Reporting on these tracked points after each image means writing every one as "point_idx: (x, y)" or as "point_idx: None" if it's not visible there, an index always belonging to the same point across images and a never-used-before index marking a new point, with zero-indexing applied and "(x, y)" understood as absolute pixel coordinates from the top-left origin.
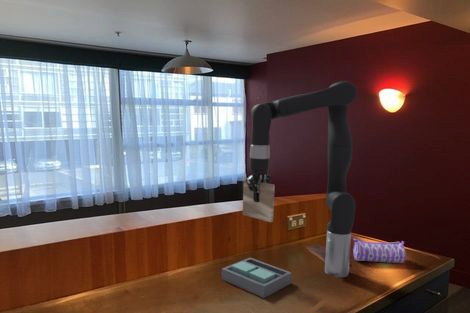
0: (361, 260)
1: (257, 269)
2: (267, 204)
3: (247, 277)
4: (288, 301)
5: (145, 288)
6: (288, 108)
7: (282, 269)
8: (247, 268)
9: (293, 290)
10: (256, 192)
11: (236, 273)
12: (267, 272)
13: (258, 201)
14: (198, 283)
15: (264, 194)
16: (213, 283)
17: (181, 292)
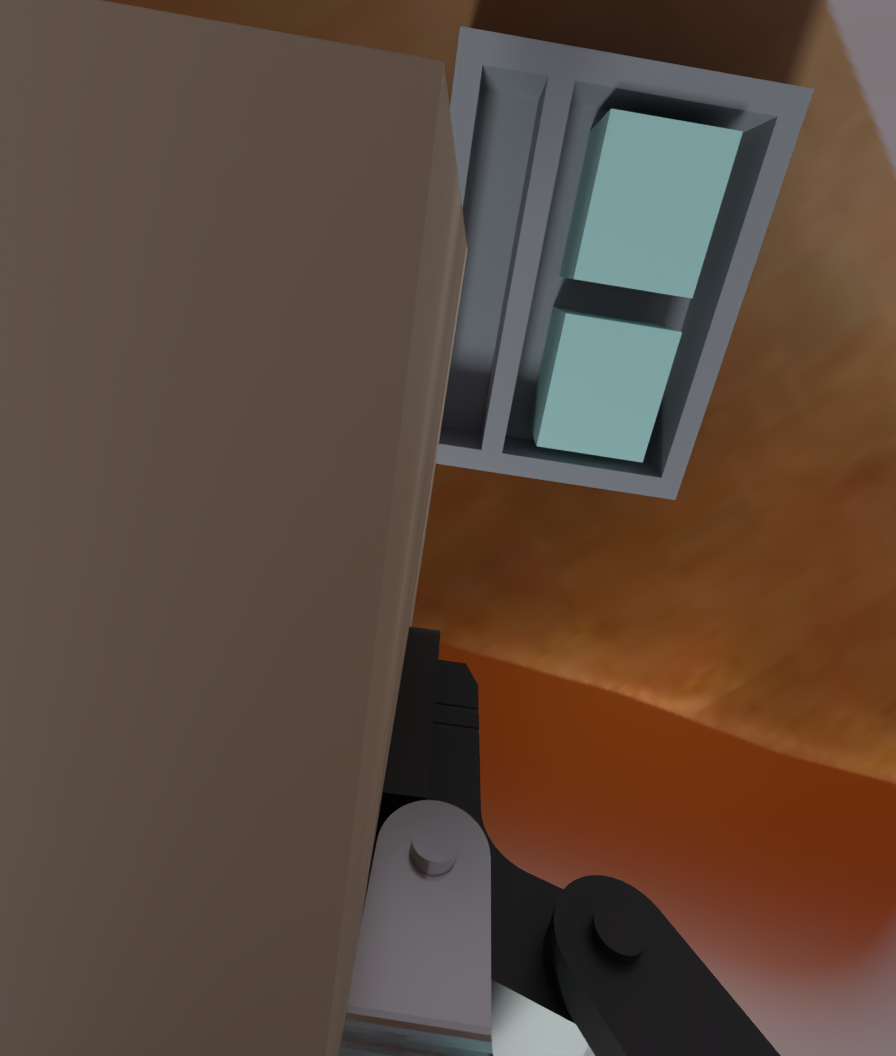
0: None
1: (607, 278)
2: (446, 377)
3: (646, 323)
4: None
5: (877, 692)
6: None
7: None
8: (630, 349)
9: (509, 9)
10: (483, 848)
11: (697, 385)
12: (619, 179)
13: (428, 632)
14: (722, 552)
15: (410, 598)
16: (684, 495)
17: (850, 556)
